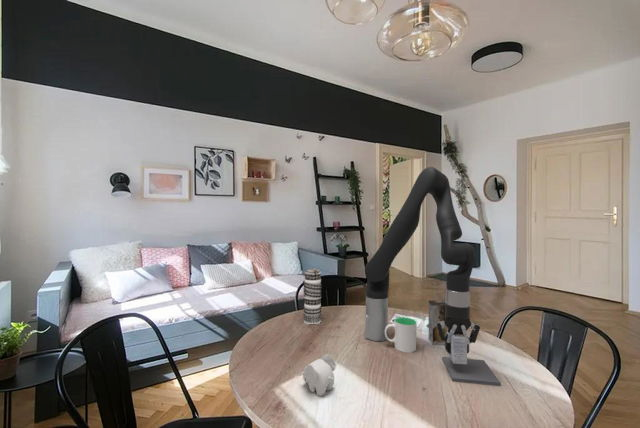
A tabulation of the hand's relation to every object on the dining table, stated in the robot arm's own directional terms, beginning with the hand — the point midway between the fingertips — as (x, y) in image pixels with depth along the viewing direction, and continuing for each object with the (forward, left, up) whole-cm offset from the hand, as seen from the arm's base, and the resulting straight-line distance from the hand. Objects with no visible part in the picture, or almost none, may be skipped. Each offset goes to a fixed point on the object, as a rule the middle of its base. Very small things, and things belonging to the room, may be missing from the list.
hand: (456, 353), depth 101 cm
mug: (-17, +14, -6) cm, 23 cm away
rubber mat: (+4, 0, -6) cm, 7 cm away
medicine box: (0, 0, -2) cm, 2 cm away
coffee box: (0, +22, -6) cm, 23 cm away
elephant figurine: (-44, -18, -6) cm, 48 cm away
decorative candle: (-56, +34, -6) cm, 66 cm away
